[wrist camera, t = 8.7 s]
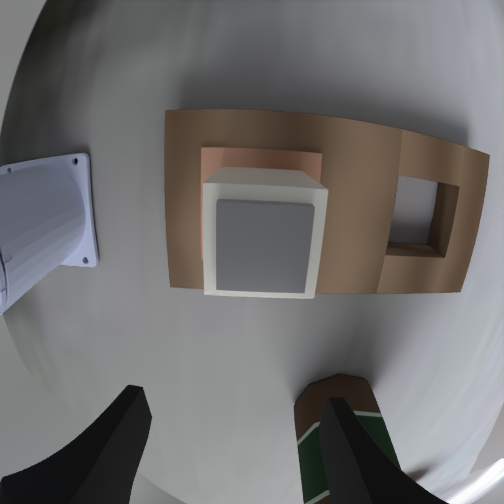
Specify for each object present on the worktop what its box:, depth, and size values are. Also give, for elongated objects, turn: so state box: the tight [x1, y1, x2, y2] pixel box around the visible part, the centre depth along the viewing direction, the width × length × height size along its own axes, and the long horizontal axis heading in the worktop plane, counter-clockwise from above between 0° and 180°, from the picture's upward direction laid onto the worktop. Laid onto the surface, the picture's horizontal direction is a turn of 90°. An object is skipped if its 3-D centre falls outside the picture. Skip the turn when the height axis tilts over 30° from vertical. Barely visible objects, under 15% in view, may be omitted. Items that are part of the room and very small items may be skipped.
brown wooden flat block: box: [165, 109, 490, 294], centre depth 16 cm, size 20×10×3 cm, turn 88°
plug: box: [203, 167, 328, 299], centre depth 12 cm, size 4×4×6 cm
